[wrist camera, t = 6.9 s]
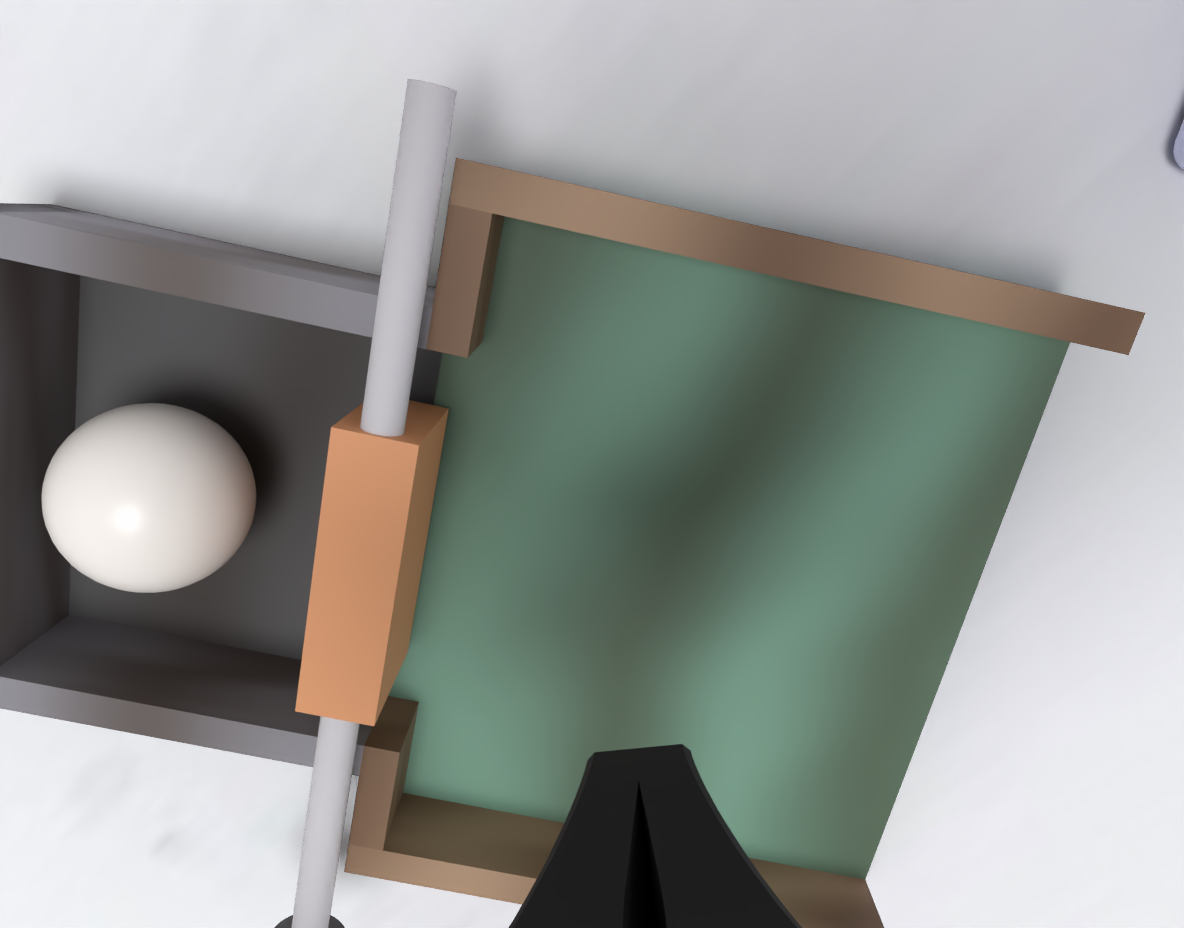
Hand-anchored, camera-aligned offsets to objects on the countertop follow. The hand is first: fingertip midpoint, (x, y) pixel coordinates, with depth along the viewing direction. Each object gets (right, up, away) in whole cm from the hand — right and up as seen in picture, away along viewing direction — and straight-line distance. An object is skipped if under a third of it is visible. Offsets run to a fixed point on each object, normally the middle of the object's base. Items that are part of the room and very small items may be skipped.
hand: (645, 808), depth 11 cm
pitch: (-3, +3, +9) cm, 10 cm away
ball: (-10, +4, +6) cm, 12 cm away
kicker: (-5, +2, +8) cm, 10 cm away
